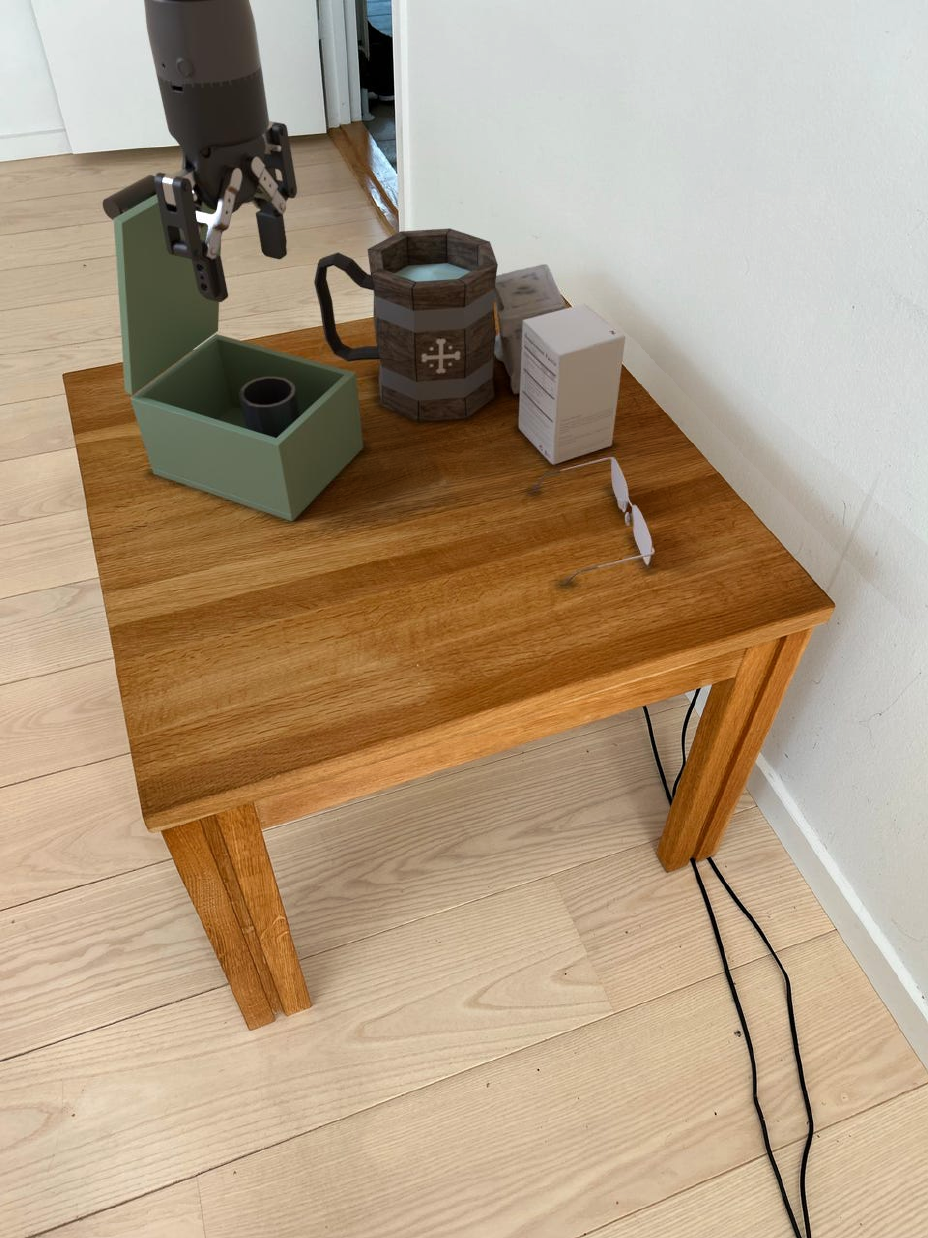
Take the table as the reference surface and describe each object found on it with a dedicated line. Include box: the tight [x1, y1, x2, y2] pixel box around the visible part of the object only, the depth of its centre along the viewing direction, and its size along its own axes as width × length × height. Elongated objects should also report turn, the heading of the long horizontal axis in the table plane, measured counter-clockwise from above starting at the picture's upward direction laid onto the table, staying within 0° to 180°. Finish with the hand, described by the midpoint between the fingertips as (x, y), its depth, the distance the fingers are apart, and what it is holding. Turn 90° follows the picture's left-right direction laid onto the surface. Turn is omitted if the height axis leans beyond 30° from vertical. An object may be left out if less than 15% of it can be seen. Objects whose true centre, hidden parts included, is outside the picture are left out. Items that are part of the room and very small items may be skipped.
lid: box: [102, 174, 222, 396], centre depth 83 cm, size 18×13×5 cm
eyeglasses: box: [531, 456, 655, 586], centre depth 85 cm, size 14×8×4 cm, turn 9°
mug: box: [313, 227, 499, 423], centre depth 98 cm, size 20×14×15 cm
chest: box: [129, 333, 364, 522], centre depth 91 cm, size 17×13×9 cm
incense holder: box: [494, 264, 567, 395], centre depth 101 cm, size 10×8×10 cm
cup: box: [239, 376, 300, 438], centre depth 90 cm, size 5×5×8 cm
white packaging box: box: [518, 303, 626, 466], centre depth 92 cm, size 7×7×13 cm
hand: (246, 276), depth 79 cm, fingers open, 8 cm apart
